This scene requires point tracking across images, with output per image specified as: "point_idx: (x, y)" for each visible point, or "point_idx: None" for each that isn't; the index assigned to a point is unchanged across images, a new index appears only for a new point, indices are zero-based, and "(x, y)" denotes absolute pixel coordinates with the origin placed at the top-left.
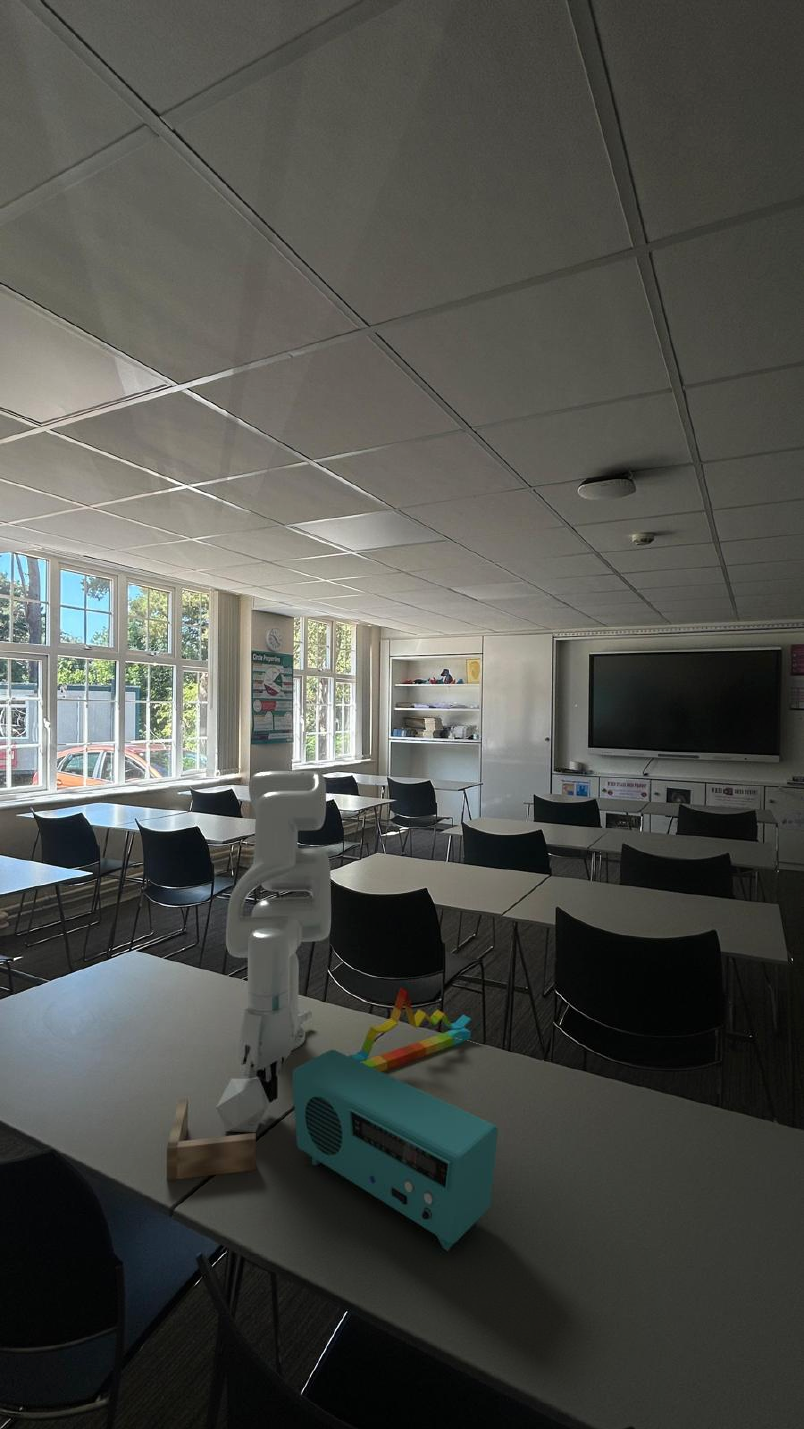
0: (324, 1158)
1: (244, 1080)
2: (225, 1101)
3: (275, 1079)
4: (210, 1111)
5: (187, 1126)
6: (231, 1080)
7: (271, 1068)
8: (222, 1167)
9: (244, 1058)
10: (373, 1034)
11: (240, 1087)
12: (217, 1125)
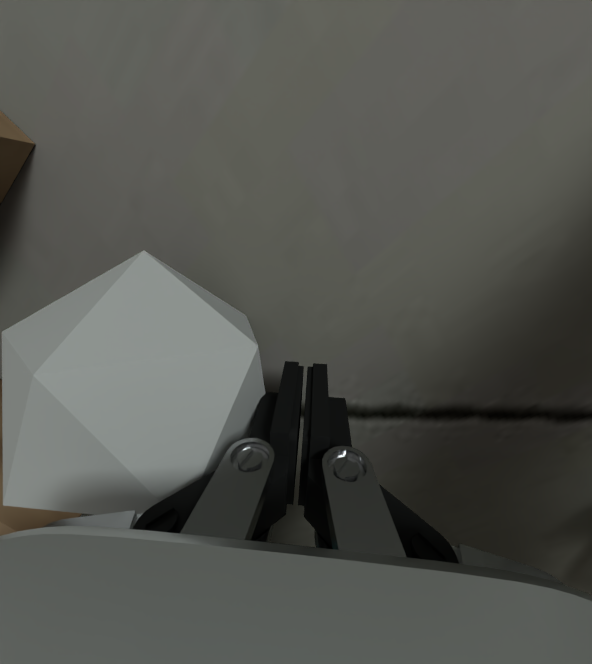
0: None
1: (101, 461)
2: (2, 399)
3: (304, 509)
4: (171, 136)
5: (27, 146)
6: (28, 385)
7: (327, 521)
8: None
9: (32, 561)
10: None
11: (39, 484)
12: (137, 252)
